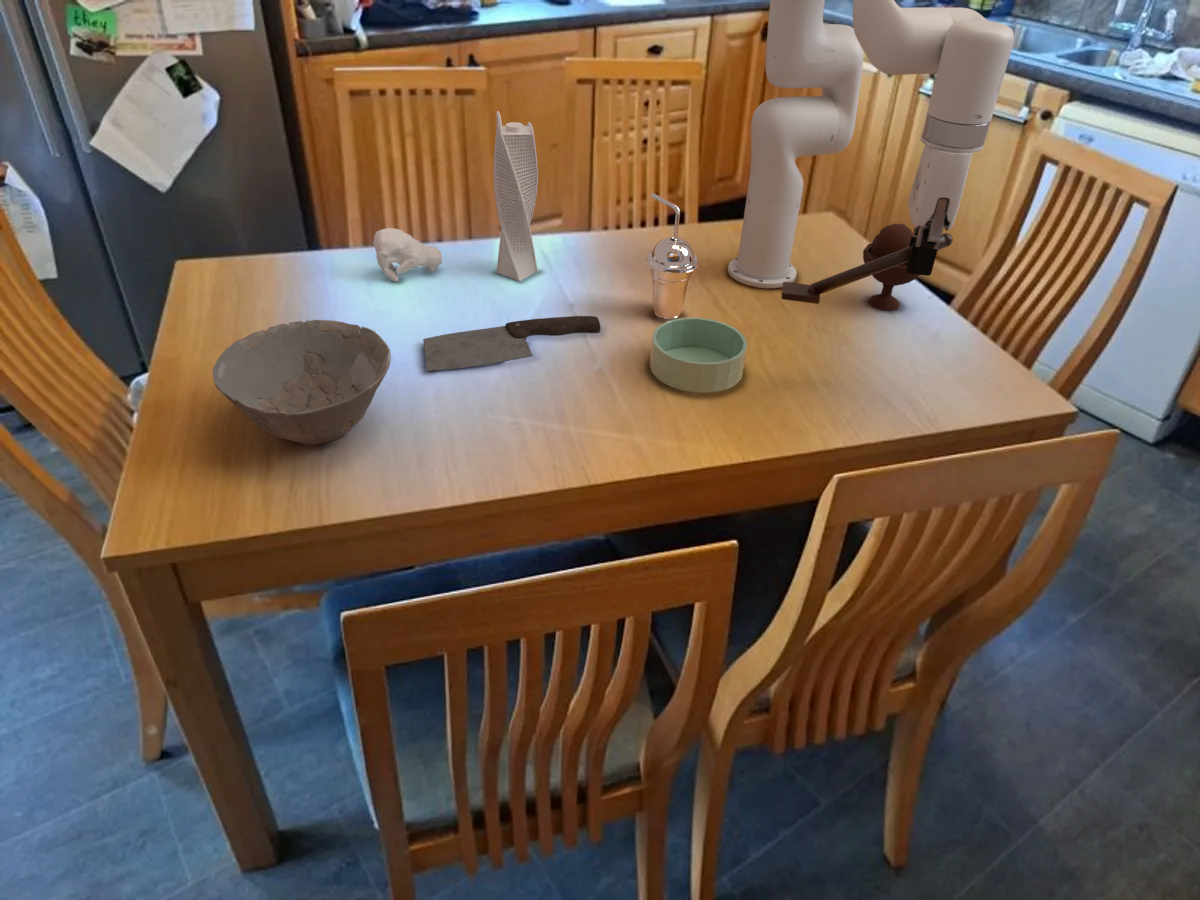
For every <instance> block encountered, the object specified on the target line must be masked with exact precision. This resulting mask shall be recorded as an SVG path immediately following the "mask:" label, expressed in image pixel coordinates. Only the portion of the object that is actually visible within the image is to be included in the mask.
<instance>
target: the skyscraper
mask: <svg viewBox="0 0 1200 900" xmlns="http://www.w3.org/2000/svg"><path fill="white" fill-rule="evenodd" d="M495 114H496V115H495V116H496V131H495V141H494V151H493V153H494V154H493V190H494V199H495V206H496V211H497V217H498V220H499V225H500V230H501V231H500V236H499V245H498V254H497V264H496V271H495V272H496V274H500V275H502V276H505V277H508V278H511V279H514V280H516V281H518V282H521V281H522V280H525V279H526V278H528V277H530V276H532V275H533V274H535V273H538V272H539V271H538V263H537V258H536V252H535V247H534V242H533V241H534V240H533V235H532V231H531V223H532V219H533V215H534V212H535V207H536V201H537V196H538V187H539V186H538V185H539V169H538V168H539V164H538V154H537V146H536V140H535V139H536V138H535V131H534V127H533V124H532V123H531V122H530V121H528V122H527V125H524V124H523V123H522V122H517V121H512V122H507V123H506V124H505V125H502V124H503V123H502V116H501V113H500V111H499V110H497V111H496V113H495Z"/></svg>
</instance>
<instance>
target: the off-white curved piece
mask: <svg viewBox="0 0 1200 900" xmlns="http://www.w3.org/2000/svg"><path fill="white" fill-rule="evenodd" d="M372 245H373V247H374V251H375V255H376V257H375V258H376V260H377V265H378V266H379V268H380V269H381V271H382V272H383V273H384V274H385V276H386V277H387V278H388V279H389V280H392V282H395V283H396V282H398V281H399V276H398V275H401V274H404V273H406V272H408V271H410V270H411V269H416V268H419V267H425V268H426V270H427V272H429V274H430V275H431V274H432V273H433V272H436V270H437V269H438V267H439V266H440V265H441V264H442V263H443V262H442V261H443V254H442V252H441V250H440V249H439V248H437V247H435V246H431V245H425V243H421V242H420V241H419V240H418V239H417V238H414V237H413V236H412V235H411V234H409V233H406V232H405V231H404V230H401V229H400V228H393V227H390V228H389V227H385V228H382V229H380V230H377V231H376V232H375V234H374V236H373V242H372ZM396 263H397V265H399V266H397V267H395V266H394V264H396Z"/></svg>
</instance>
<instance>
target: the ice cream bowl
mask: <svg viewBox="0 0 1200 900" xmlns="http://www.w3.org/2000/svg"><path fill="white" fill-rule="evenodd" d="M911 236H913V231H912V229H911V228H910V227H908V226H907V225H906V224H904V223H891V224H889V225H885V226H884V227H882V228H881V229H880V230H879V233H878V234H877V235H875V236H874V238H873V241H872V242H871V243H868V244H867V245H866V246H865V247H864V249H863V250H862V260H863V264H865V263H868V262H870V261H873V260H876V259H878V258H881V257H884V256H886V255H889V254H891V253H894V252H897V251H899V250H902V249H904V248H907V247H909V244H910V240H911ZM913 237H916V236H913ZM906 269H907V266H906V265H905V263H903V264H900V265H897V266H895V267H892V268H889V269H887V270H884V271H881V272H879V273H876V274H873V275H871V276H872V277H873V278H874V279H875V280H876V281H877V282H878V283H881V284H882V288H881V292H880V293H877V294H873V295H871V296H870V298H869V299H868V301H867V303H868V304H869V306H870V307H871V308H874V309H876V310H879V311H883V312H893V311H897V310H899V308H900V307H901V305H900V304H901V303H900V302H899V300H898V299H897V298H895V297H894V296H893V289H894V287H897V286H901V285H905V284H909V283H912V282H913V281H914V280H916V279H918V278H919V277H920V275H917V274H909V273H907V271H906Z"/></svg>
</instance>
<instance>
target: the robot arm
mask: <svg viewBox="0 0 1200 900" xmlns="http://www.w3.org/2000/svg"><path fill="white" fill-rule="evenodd" d="M825 3H826V0H770V2H769V10H768V11H769V12H768V24H767V35H766V49H765V75H766V79H767V81H768V82H769V83H770V85H772V86H774V87H775V88H776V87H777V88H781V89H814V88H815V89H816V88H819V89H820V88H821V95H817V96H816V95H813V96H811V95H810V96H806V95H804V96H802V95H801V96H780V97H774V98H770V99H768V100H765V101H763V102H762V103H760V104H759V105H758V106H757V107H756V109H755V110H754V111H753V114H752V116H751V121H750V122H751V123H750V145H751V147H750V149H751V150H750V151H751V152H750V153H751V154H750V168H749V178H748V183H747V184H748V185H747V192H746V200H745V207H744V212H743V220H742V228H741V234H740V241H739V249H738V256H737V257H734V258H733V259H732V260H730V261H729V263H728V266H727V273H728V275H729V276H730V277H731V278H732V279H734V280H735V281H737V282H738V283H740V284H742V285H745V286H748V287H753V288H758V289H781V288H782V287H783V282H790V283H795V280H796V278H797V269H796V268H795V266H794V265H793V264H791V259H792V254H793V248H794V242H795V236H796V230H797V227H798V226H797V225H798V220H799V214H800V208H801V203H802V197H803V192H804V179H803V175H802V173H801V171H800V169H799V168H798V166H797V164H796V159H797V158H802V157H812V156H827V155H836V154H839V153H841V152H844V150H846V149H847V148H848V146H849V145H850V143H851V141H852V139H853V135H854V131H855V126H856V121H857V116H858V115H857V114H858V106H859V99H860V97H859V96H860V92H861V83H862V76H863V68H864V54H865V56H866V58H867V59H868V61H869V62H870V64H872V66H873V67H874V68H875V69H876V70H878V71H879V72H880V73H883V74H885V75H890V76H904V75H905V76H907V75H908V76H909V75H935V78H934V82H933V87H932V90H931V94H930V99H929V102H928V106H927V110H926V115H925V119H924V123H923V128H922V131H921V135H920V142H921V143H922V144H924V146H923V149H922V151H921V155H920V159H919V161H918V165H917V169H916V172H915V175H914V176H915V177H914V179H913V183H912V185H911V189H910V193H909V196H908V200H907V209H908V214H909V218H910V221H911V224H912V225H913V231H912V232H913V236H915V237H913V236H911V240H910V244H909V247H910V246H912V245H913V246H912V249H911V253H910V257H909V261H908V262H905V265H906V266H907V269H906V271H907V273H909V274H917V275H919V276H925V277H926V276H927V277H928V276H931V274H932V272H933V269H934V265H935V261H936V258H937V254H938V251H939V250H938V246H939V242H940V239H941V235H942V234H943V231H944V230H945V231H950V230H952V228H953V226H954V224H955V221H956V218H957V215H958V212H959V209H960V206H961V202H962V198H963V194H964V190H965V186H966V182H967V178H968V174H969V171H970V166H971V163H972V159H973V154H974V153H979V152H980V151H982V150H983V149H984V146H985V142H986V138H987V135H988V133H989V132H988V131H989V129H990V125H991V121H992V119H993V115H994V113H995V108H996V105H997V101H998V98H999V95H1000V92H1001V88H1002V84H1003V81H1004V77H1005V73H1006V71H1007V67H1008V63H1009V60H1010V57H1011V54H1012V50H1013V48H1014V47H1013V46H1014V42H1015V33H1014V30H1013V29H1012V28H1011V27H1010V26H1009V25H1007V24H1005V23H1002V22H998V21H992V20H988V19H987V18H985V17H984V16H983V15H982V14H981V13H979V12H977V11H976V10H974V9H971V8H967V7H901V6H899V4H897V3H896V1H895V0H853V2H852V3H853V4H852V26H853V27H852V26H850V25H847V24H839V23H832V24H831V23H830V24H826V23H825V24H824V10H825Z"/></svg>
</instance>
